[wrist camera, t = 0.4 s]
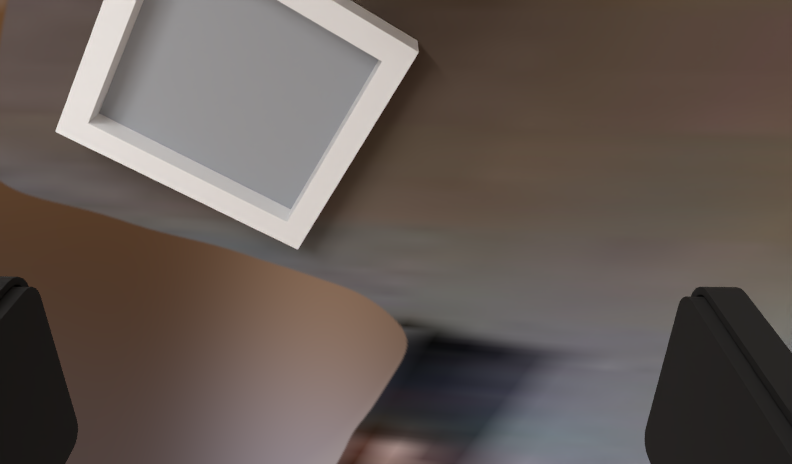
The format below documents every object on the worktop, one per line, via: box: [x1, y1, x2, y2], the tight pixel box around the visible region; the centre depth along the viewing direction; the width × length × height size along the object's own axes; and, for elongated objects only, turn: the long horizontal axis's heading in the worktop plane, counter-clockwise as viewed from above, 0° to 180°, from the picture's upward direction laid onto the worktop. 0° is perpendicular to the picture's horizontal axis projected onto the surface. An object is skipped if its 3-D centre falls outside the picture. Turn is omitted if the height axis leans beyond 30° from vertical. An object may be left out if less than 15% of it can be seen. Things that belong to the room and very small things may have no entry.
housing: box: [55, 0, 419, 250], centre depth 40 cm, size 16×15×2 cm
